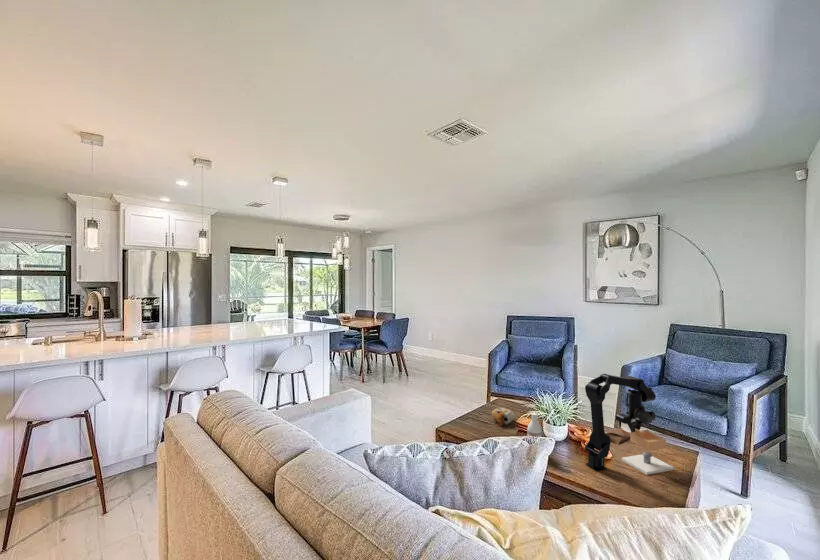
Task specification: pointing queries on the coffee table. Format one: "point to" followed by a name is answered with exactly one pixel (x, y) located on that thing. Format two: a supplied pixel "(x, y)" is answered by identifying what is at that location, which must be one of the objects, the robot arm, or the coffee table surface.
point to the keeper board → (647, 463)
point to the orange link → (647, 440)
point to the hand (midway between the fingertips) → (635, 434)
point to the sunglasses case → (618, 436)
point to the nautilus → (503, 416)
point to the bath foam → (534, 426)
